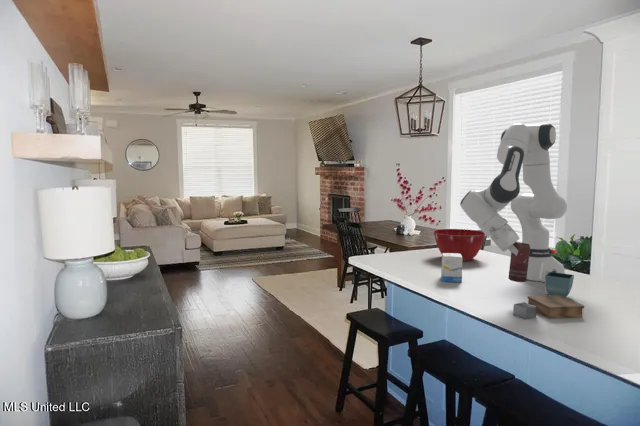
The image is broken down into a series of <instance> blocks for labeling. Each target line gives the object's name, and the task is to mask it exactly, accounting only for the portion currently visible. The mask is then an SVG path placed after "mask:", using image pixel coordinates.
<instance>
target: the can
mask: <svg viewBox="0 0 640 426" xmlns="http://www.w3.org/2000/svg"><path fill="white" fill-rule="evenodd" d="M513 245H514V246H515V248H517V250H518V253H517V256H516V255H515V254H514V253H512V252H511V251H510V260H509V269H508V270H509V271H508V280H510V281H511V282H515V283H526V282H527V280H528V279H527V271H528V262H529V253H530V245H529V244H526V243H522V242H519V241H516V242H515V243H514V244H513Z"/></svg>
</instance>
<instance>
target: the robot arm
mask: <svg viewBox="0 0 640 426" xmlns="http://www.w3.org/2000/svg"><path fill="white" fill-rule="evenodd" d="M556 139H557V132H556V128H555V126H554V125H553V124H551V123H545V122H544V123H532V124H523V123H513V124H511V125H510V126H509V127H508V128H506V129H504V131H503V132H502V133H501V135H500V143H499V145H498V148H497V152H496V153H497V155H496V158H497V159H496V160H497V161H498V162H500V164H501V165H502V167H501V171H500V174H498V175H497V176H496V177H495V178H494V179H493V180H492V181H491V183H490V185H488V187H487V188H485V189H481V190H473V189H471V190H469V191H467V193H466V194H465V196H463V198H462V199H461V200H460V207H461V209H462V210H463V212H464V213H465V214H466V215H467V216H468V218H469V219H471V221H472V222H474V223H476V225H477V226H478V228H479V229H480V231H482V232H484V233H485V234H486V235H485V237H486V236H487V238H490V239H491V240H492V242H493V243H494V244H495V245H496V246H497V247H498V249H499V250H501V251H502V252H506V251H507V250H509V251H510V253H511V252H512V253H514V254H515V255H516V256H517V253H518V250H517V248H515V246H514V245H513V244H514V243H515V242H519V240H520V236H519V235H518V233H517V232H516V231H515V230H514V229H513V227H512V226H511V225H509V222H508V221H507V219H506V218H504V217H503V216H501V215H500V213H499V212H500V211H502V210H504V208H506V207H507V206H508V205H509V204H510V209H511V211H512V212H513V214H515V216H516V217H517V219H518V222H519V223H520V227H521V235H522V236H521V238H522V240H521V241H522V242H521V243H526V244H529V245H530V253H529V262H528V271H527V279H526V280H530V281H537V282H542V283H545V275H546V274H547V273H549V272H556V273H563V274H566V271H565V267H564V265H563V264H562V263H561V262H560V261H558V260H557V259H556V258H555V257H554V256H553V255H556V254H557V252H558V251H557V250H556V249H554V248H552V249H551V248H550V246H549V245H550V232H549V229H547V227H545V226H544V225H543V223H542V221H541V219H543V220H555V219H556V220H557V219H561V218H562V217H564V215H565V214H566V212H567V207H568V206H567V205H568V204H567V202H566V200H565V198H564V197H562V196H561V195H560V194H559V193H558V192H557V191H556V189H555V187H554V185H553V182H552V179H551V162H550V152H549V149H550V148H551V147H553V145H555V143H556ZM521 170H522V180H523V183H524V184H525V185H526V186H528V188H530V189H531V192H532V193H520V191H521V186H520V181H519V180H520V178H519V177H520V173H521Z"/></svg>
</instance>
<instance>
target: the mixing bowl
mask: <svg viewBox="0 0 640 426" xmlns="http://www.w3.org/2000/svg"><path fill="white" fill-rule="evenodd" d="M432 233H433V234H434V239H435V243H436V246H437V249H438V250H439V252H440V254H441V255H442V253H458V254H461V255H462V257H463V262H465V261H470V260H472V259H474V258H475V257H476V256H477V255H478V253H479V252H480V250H481V248H482V247H483V244H484V242H485V241H484V240H485V237H486V234H485V233H484V232H483V231H482V230H476V229H465V228H464V229H463V228H462V229H461V228H443V229H441V228H440V229H436V230H433V231H432Z"/></svg>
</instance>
